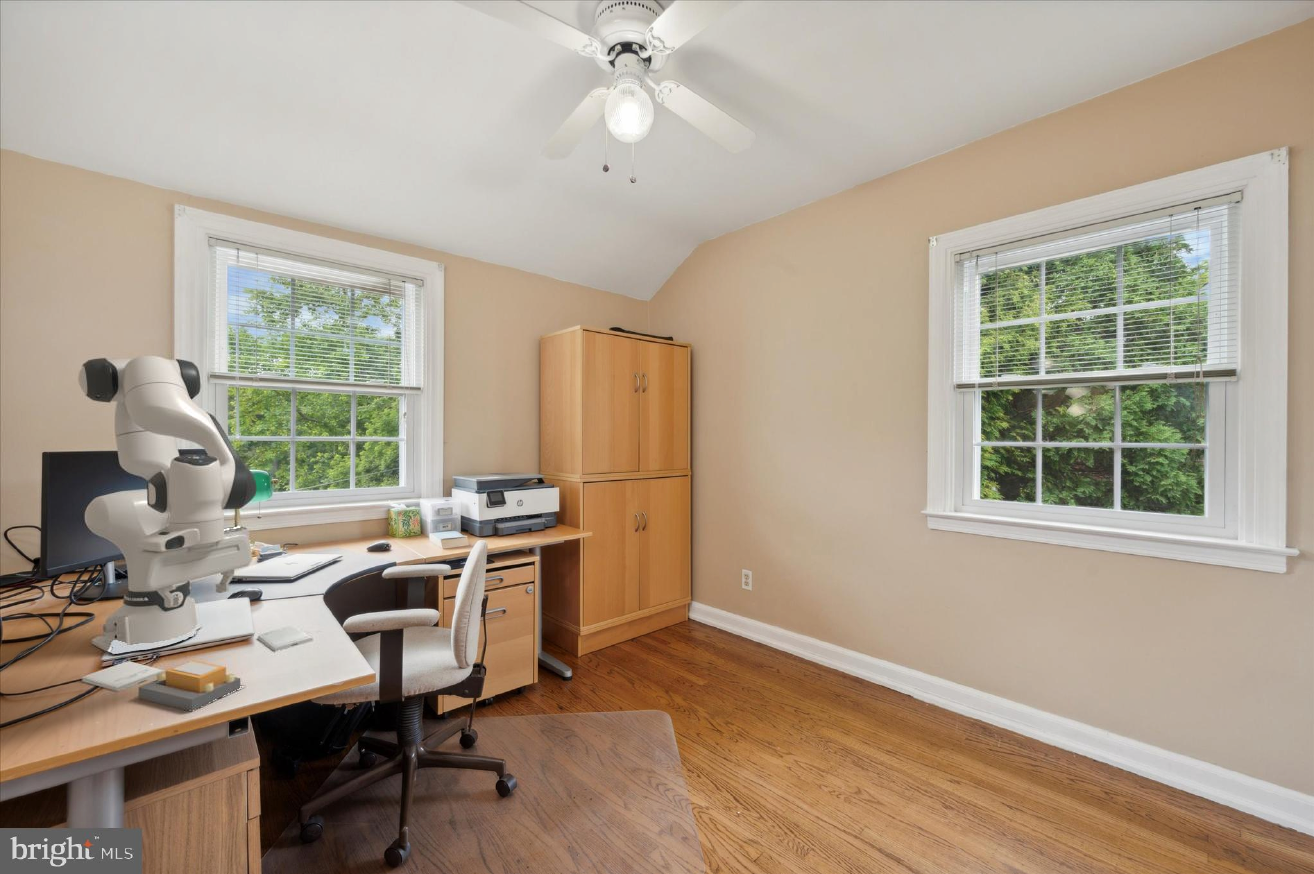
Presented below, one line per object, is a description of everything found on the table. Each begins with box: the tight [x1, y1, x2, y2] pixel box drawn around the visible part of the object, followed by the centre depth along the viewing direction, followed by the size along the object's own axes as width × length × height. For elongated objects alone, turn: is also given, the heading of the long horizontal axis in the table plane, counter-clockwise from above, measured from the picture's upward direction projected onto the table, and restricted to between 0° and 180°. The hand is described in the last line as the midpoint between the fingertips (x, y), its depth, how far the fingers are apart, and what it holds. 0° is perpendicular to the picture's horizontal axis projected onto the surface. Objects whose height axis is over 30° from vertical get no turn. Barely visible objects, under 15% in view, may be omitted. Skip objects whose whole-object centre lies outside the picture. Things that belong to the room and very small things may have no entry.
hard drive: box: [257, 625, 314, 652], centre depth 137 cm, size 2×8×12 cm
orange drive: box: [165, 660, 227, 693], centre depth 111 cm, size 10×5×5 cm, turn 73°
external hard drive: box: [81, 660, 166, 692], centre depth 117 cm, size 2×8×12 cm
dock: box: [138, 671, 245, 712], centre depth 111 cm, size 16×10×4 cm, turn 73°
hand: (198, 598), depth 112 cm, fingers open, 8 cm apart
